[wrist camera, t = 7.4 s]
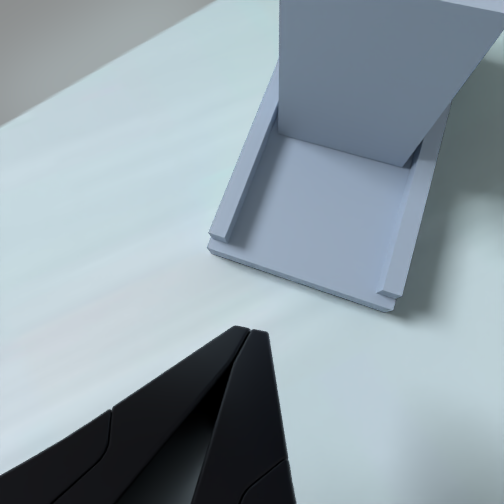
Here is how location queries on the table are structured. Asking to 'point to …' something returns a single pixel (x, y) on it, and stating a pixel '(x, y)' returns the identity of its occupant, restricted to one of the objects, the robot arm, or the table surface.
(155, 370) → the table surface
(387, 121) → the free jaw
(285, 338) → the table surface
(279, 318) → the table surface
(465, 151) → the table surface
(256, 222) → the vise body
